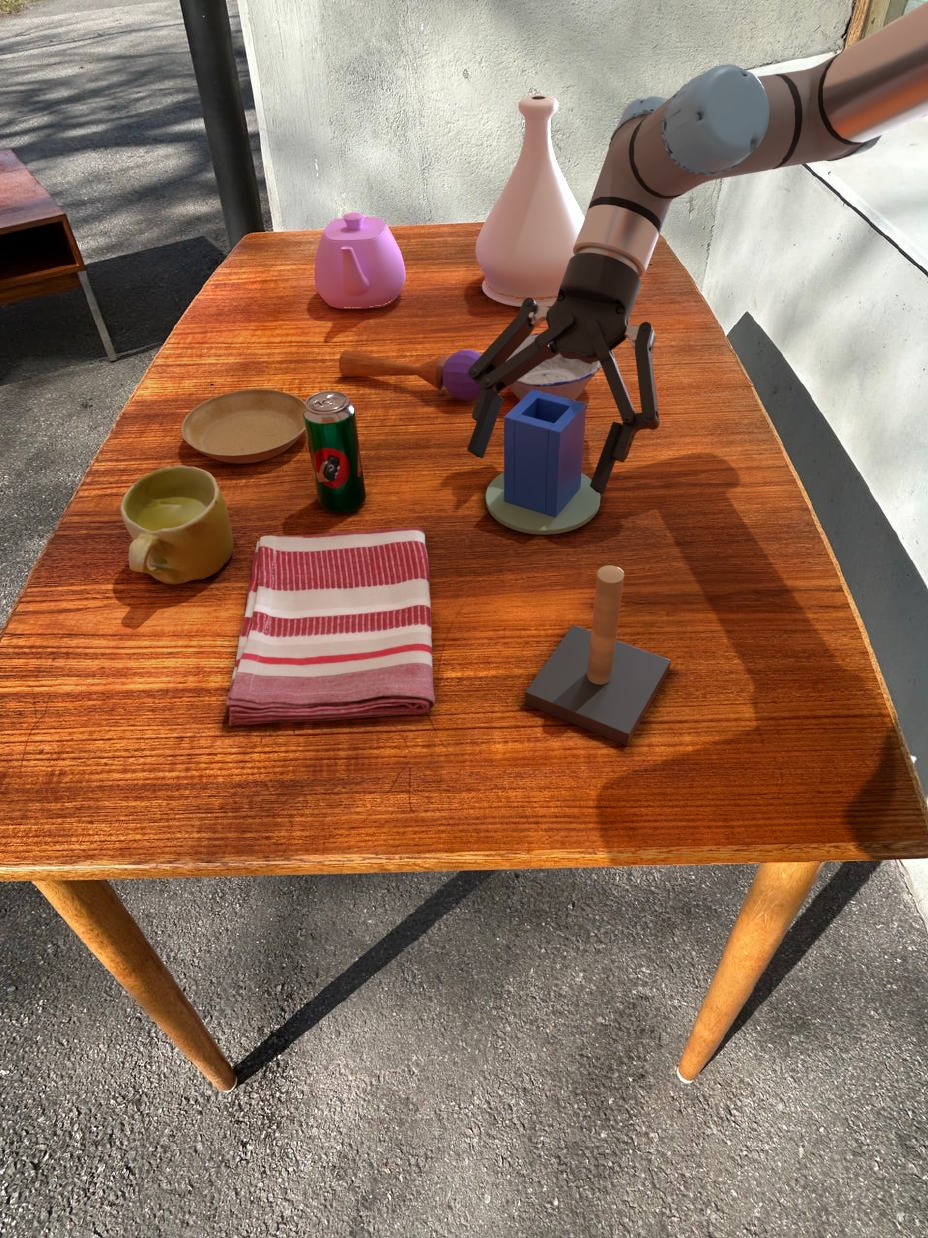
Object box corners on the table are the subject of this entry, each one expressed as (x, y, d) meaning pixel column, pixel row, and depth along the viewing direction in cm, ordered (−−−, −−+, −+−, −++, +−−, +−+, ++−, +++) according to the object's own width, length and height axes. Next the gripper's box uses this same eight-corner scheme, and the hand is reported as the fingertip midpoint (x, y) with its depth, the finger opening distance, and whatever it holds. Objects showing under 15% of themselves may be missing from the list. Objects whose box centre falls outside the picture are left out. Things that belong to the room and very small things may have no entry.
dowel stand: (571, 636, 77) (580, 523, 68) (669, 672, 73) (691, 557, 65) (524, 704, 71) (527, 590, 63) (627, 746, 68) (645, 632, 59)
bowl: (561, 357, 114) (563, 322, 111) (619, 399, 106) (623, 363, 103) (475, 383, 110) (475, 347, 107) (529, 429, 102) (530, 392, 98)
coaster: (611, 478, 94) (612, 473, 94) (583, 544, 86) (583, 540, 86) (506, 459, 97) (506, 455, 97) (469, 521, 89) (469, 517, 89)
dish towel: (227, 730, 70) (220, 709, 68) (260, 548, 87) (255, 527, 85) (436, 717, 70) (434, 695, 69) (428, 538, 87) (426, 517, 86)
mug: (171, 497, 91) (158, 435, 82) (256, 542, 90) (252, 484, 81) (95, 583, 85) (72, 526, 76) (185, 632, 84) (172, 580, 75)
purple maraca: (355, 334, 112) (498, 346, 105) (359, 379, 115) (499, 394, 108) (331, 345, 108) (479, 359, 101) (336, 392, 111) (480, 409, 104)
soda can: (374, 505, 92) (362, 404, 83) (331, 522, 90) (314, 420, 82) (353, 483, 95) (339, 383, 87) (311, 498, 93) (292, 397, 85)
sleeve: (530, 472, 94) (532, 389, 87) (580, 487, 92) (586, 403, 85) (503, 501, 91) (503, 416, 84) (555, 517, 88) (560, 432, 81)
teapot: (325, 274, 137) (314, 194, 129) (409, 271, 136) (403, 192, 128) (308, 331, 122) (295, 246, 114) (403, 328, 122) (396, 242, 114)
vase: (609, 300, 126) (626, 106, 109) (495, 317, 124) (493, 120, 106) (568, 257, 139) (577, 76, 122) (463, 271, 136) (457, 88, 119)
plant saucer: (300, 397, 109) (297, 378, 107) (325, 458, 99) (322, 438, 97) (181, 420, 106) (175, 401, 104) (193, 486, 95) (187, 465, 94)
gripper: (734, 307, 84) (658, 514, 85) (508, 263, 94) (442, 449, 95) (726, 272, 77) (644, 497, 79) (483, 228, 87) (412, 430, 88)
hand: (533, 472), depth 87 cm, fingers open, 13 cm apart
